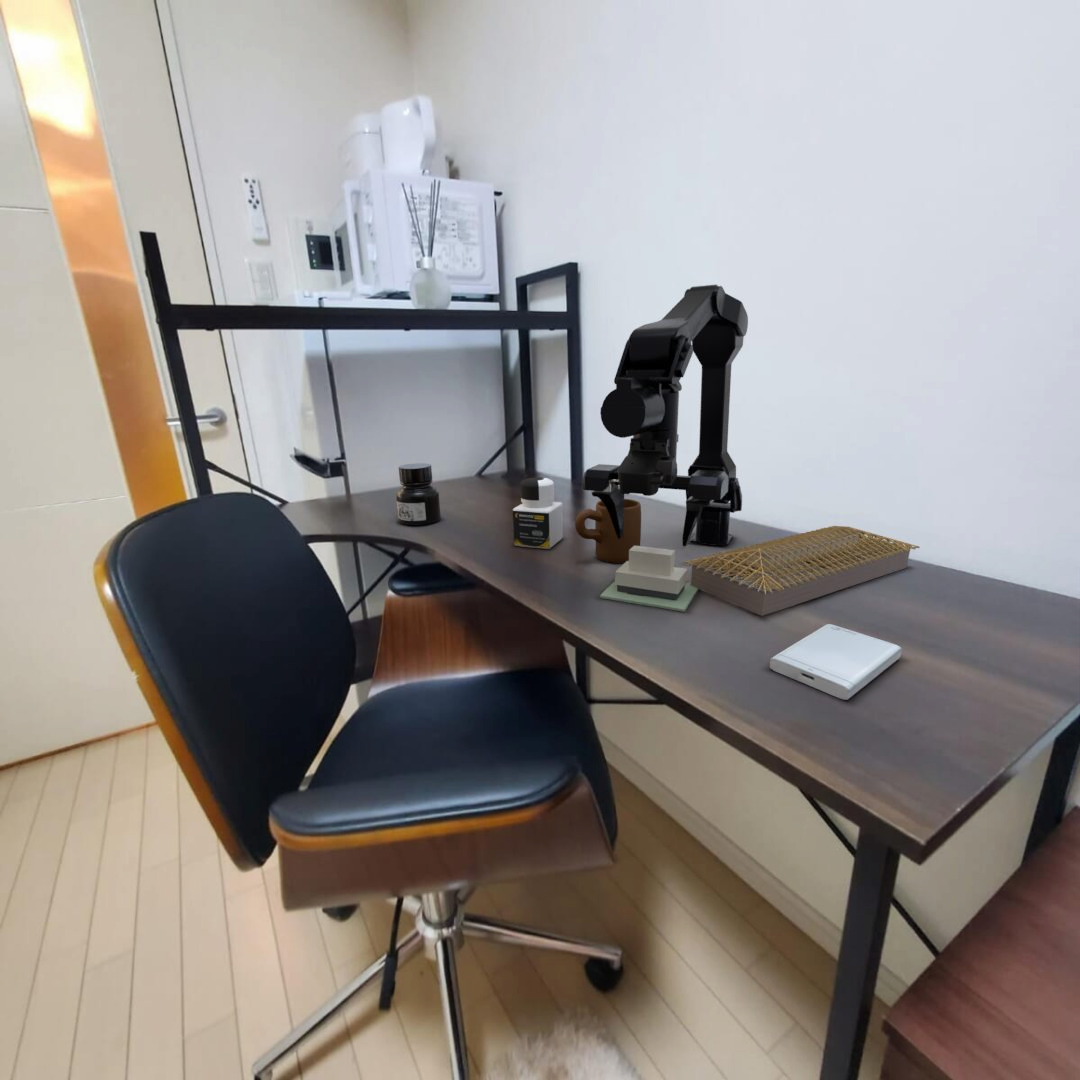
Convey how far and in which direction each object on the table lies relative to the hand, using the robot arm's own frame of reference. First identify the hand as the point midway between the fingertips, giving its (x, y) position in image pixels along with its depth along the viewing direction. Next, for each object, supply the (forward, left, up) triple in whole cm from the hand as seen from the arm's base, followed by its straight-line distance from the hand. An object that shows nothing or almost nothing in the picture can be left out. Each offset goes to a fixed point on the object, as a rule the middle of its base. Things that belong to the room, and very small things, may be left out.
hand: (651, 541), depth 80 cm
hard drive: (+11, +24, -8) cm, 28 cm away
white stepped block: (0, 0, -7) cm, 7 cm away
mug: (-12, -11, -8) cm, 18 cm away
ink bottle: (-20, -57, -8) cm, 61 cm away
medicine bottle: (-16, -26, -8) cm, 31 cm away
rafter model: (-15, +19, -8) cm, 25 cm away
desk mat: (0, 0, -8) cm, 8 cm away
